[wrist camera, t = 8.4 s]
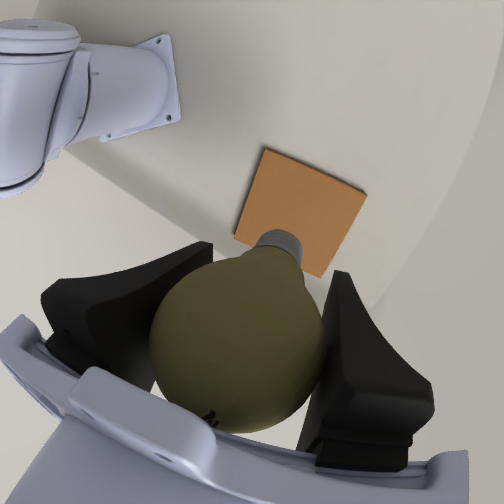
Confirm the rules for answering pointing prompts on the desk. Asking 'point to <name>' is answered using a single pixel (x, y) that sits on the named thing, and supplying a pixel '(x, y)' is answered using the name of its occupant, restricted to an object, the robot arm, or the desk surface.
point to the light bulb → (241, 338)
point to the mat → (299, 208)
